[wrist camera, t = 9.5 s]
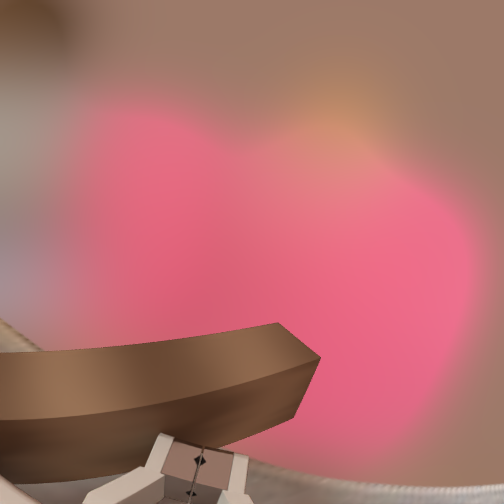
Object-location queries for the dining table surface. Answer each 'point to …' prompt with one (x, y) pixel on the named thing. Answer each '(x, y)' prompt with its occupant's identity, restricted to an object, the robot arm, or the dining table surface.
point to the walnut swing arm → (144, 400)
